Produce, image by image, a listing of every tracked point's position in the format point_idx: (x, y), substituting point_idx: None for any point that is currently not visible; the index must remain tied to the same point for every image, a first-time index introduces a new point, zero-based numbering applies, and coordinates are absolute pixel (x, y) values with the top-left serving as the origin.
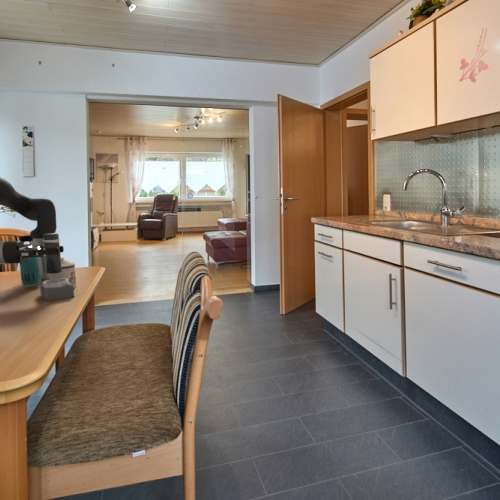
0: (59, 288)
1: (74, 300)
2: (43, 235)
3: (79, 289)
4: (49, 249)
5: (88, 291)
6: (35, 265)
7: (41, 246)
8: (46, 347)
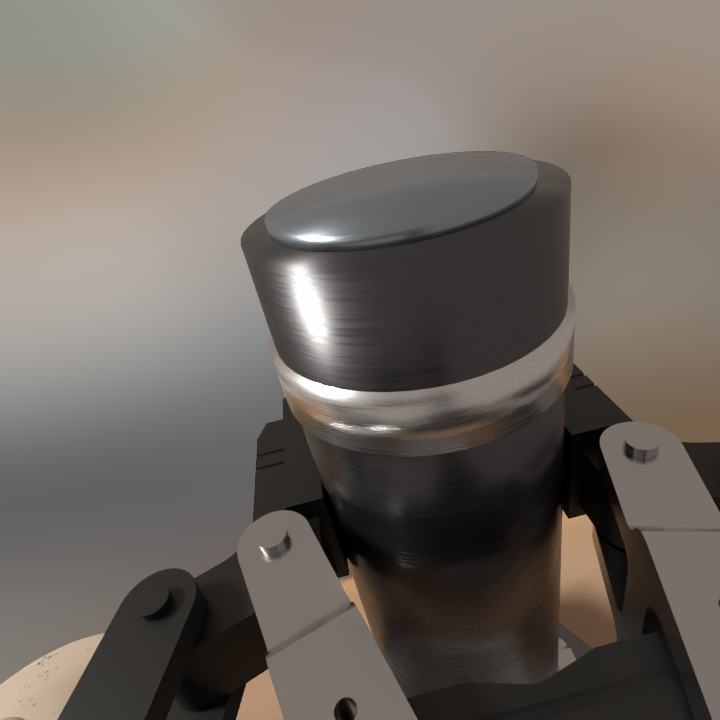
0: (567, 634)
1: (564, 564)
2: (540, 229)
3: (268, 681)
4: (577, 409)
5: (343, 583)
6: None
7: (378, 654)
8: None
